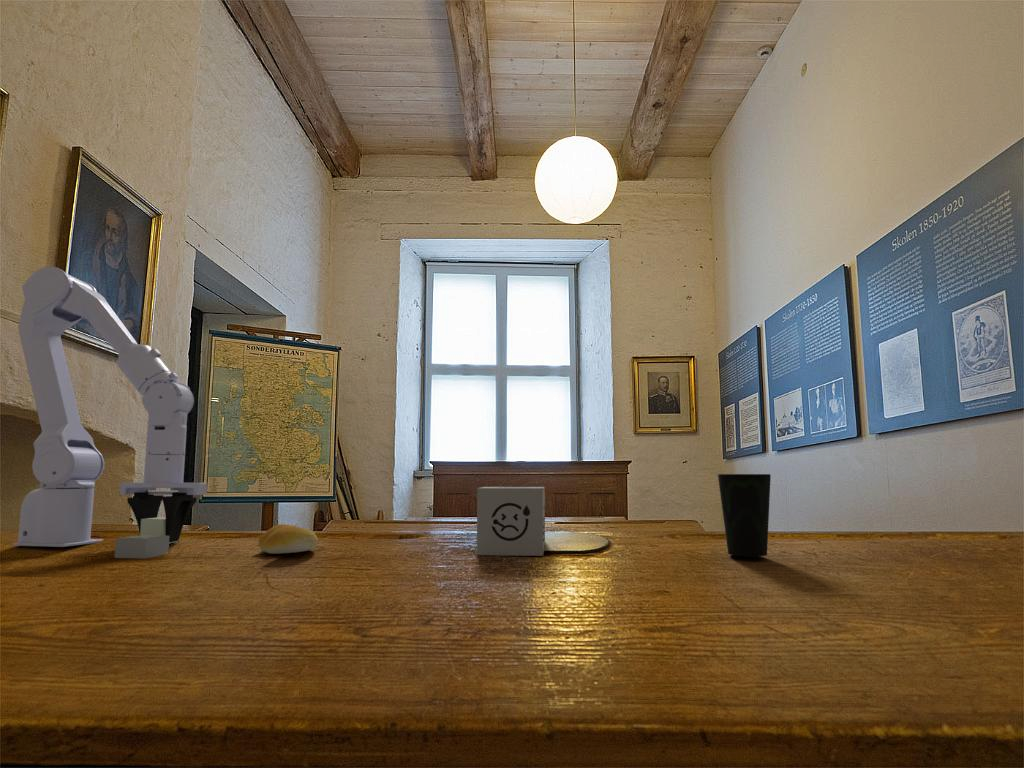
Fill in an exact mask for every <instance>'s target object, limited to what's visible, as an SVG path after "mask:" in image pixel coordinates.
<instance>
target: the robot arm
mask: <svg viewBox="0 0 1024 768" xmlns="http://www.w3.org/2000/svg"><path fill="white" fill-rule="evenodd" d="M21 287H22V292H23V296H24V301H23V303H22V304H23V305H22V309H21V314H20V316H19V317H20V318H19V322H18V326H17V328H18V335H19V339H20V342H21V347H22V351H23V352H22V353H23V355H24V360H25V364H26V369H27V372H28V377H29V382H30V386H31V389H32V393H33V399H34V404H35V407H36V411H37V412H36V413H37V415H38V421H39V424H40V428H41V433H40V434H39V435H38V437H36V439H35V440H34V442H33V449H34V458H33V460H32V466H31V468H32V473H33V475H34V477H35V479H36V480H37V481H38V482H39V488H36V489H33V490H31V491H30V492H28V493H27V494H26V495H25V496H24V499H22V503H21V507H20V515H19V516H20V517H19V526H18V527H19V528H18V538H17V542H12V546H14V547H18V546H19V547H21V546H22V547H49V548H50V547H54V548H64V547H74V546H80V545H81V546H83V545H89V544H96V543H100V542H103V541H104V539H103V538H92V537H91V535H92V521H93V511H94V498H95V486H96V485H95V484H96V481H97V480H99V478H100V477H101V476H102V475H103V472H104V470H105V465H106V464H105V459H104V457H103V454H102V453H101V452H100V451H99V450H98V449H97V447H96V446H95V442H94V438H93V437H92V436H91V434H90V433H89V432H88V431H87V429H85V428H84V427H83V425H82V420H81V417H80V413H79V408H78V405H77V401H76V396H75V393H74V388H73V382H72V379H71V375H70V371H69V367H68V363H67V359H66V354H65V349H64V345H63V342H62V337H61V336H62V335H64V333H65V331H66V330H68V329H70V328H71V327H72V326H73V325H75V324H76V323H78V322H80V321H81V320H83V319H86V320H87V321H88V322H89V323H90V325H92V327H93V328H94V329H95V330H96V331H97V332H98V333H99V335H100V336H101V337H102V338H103V339H104V340H105V341H106V343H108V345H110V346H111V348H112V349H113V351H115V352H116V354H118V356H117V357H118V358H117V367H118V369H119V370H120V371H121V372H122V373H123V374H124V376H125V377H126V378H127V380H129V382H130V384H132V385H133V387H134V388H135V389H136V390H137V392H138V393H139V394H140V395H141V396H142V397H141V403H142V406H143V408H144V409H145V410H146V412H147V414H148V420H147V427H146V428H147V430H146V443H145V446H146V447H145V456H144V458H145V459H144V471H143V474H144V475H143V482H120V487H119V495H123V496H126V495H133V496H132V497H127V504H128V505H129V507H130V509H131V511H132V512H133V515H134V518H135V521H136V525H137V528H138V532H139V534H140V530H141V519H146V518H157V517H158V515H159V510H160V506H161V504H162V503H163V507H164V508H163V509H164V514H165V517H166V532H165V535H166V536H169V542H174V541H178V540H179V541H180V538H179V537H181V533H182V530H183V528H184V525H185V522H186V519H187V517H188V515H189V513H190V512H191V510H192V508H193V507H194V505H195V504H196V502H197V500H198V499H197V498H198V497H197V496H206V495H207V494H208V493H207V491H208V482H184V475H185V463H186V462H185V461H186V444H187V431H188V429H187V428H188V427H187V426H188V425H187V423H188V414H189V413H191V411H192V410H193V407H194V404H195V397H194V394H193V392H192V391H191V388H190V386H189V385H186V384H184V383H179V382H178V379H179V376H178V374H177V373H176V372H173V371H172V372H171V370H170V369H169V368H168V367H167V365H166V364H165V362H164V361H162V359H161V358H160V357H162V353H161V352H160V350H159V349H157V348H153V347H151V346H150V345H148V344H140V343H139V344H138V343H137V341H136V339H135V338H134V337H133V336H132V334H131V333H130V331H129V330H128V329H127V327H126V326H125V324H124V323H123V322H122V320H121V319H120V318H119V316H118V315H117V314H116V313H115V311H114V310H113V309H112V307H111V305H110V304H109V303H108V301H107V299H106V298H105V297H104V296H103V295H102V294H101V293H99V292H98V291H97V289H96V288H95V286H93V285H92V284H91V283H89V282H87V281H84V280H81V279H78V278H76V277H75V276H72V275H70V274H69V273H67V272H65V271H64V269H61V268H59V267H56V266H50V265H49V266H43V267H40V268H39V269H37V270H35V271H34V272H33V273H32V274H31V275H30V277H29V278H27V280H26V281H25V282H24V283H23V284H22V285H21ZM157 489H170V491H162V490H161V491H160V490H159V491H157Z"/></svg>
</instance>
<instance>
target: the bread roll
mask: <svg viewBox="0 0 1024 768" xmlns="http://www.w3.org/2000/svg"><path fill="white" fill-rule="evenodd" d="M318 542H319V539H318V536H317V534H316V533H315V531H313V530H311V529H308V528H305V527H299V526H296V525H292V524H284V523H283V524H282V523H281V524H278V525H277V524H276V525H275V526H272V527H270V528H269V529H268V530H266V532H264V533H263V534H262V535H261V536H260V537H259V539H258V542H257V545H258V548H259V549H260V551H261V552H262V551H263V553H268V554H269V555H270V554H271V555H272V554H273V555H274V554H276V555H279V554H291V553H301V552H307V551H312V550H314V549H316V548H317V547H318Z"/></svg>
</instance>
